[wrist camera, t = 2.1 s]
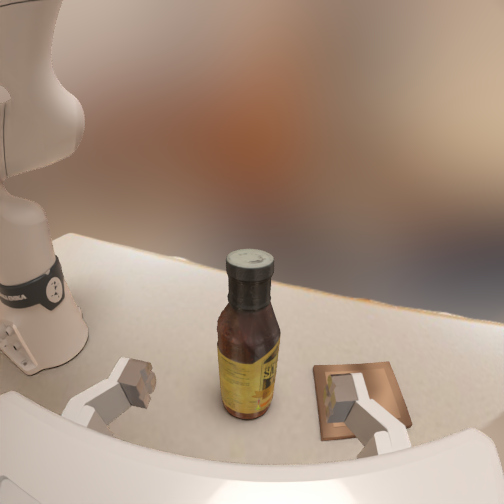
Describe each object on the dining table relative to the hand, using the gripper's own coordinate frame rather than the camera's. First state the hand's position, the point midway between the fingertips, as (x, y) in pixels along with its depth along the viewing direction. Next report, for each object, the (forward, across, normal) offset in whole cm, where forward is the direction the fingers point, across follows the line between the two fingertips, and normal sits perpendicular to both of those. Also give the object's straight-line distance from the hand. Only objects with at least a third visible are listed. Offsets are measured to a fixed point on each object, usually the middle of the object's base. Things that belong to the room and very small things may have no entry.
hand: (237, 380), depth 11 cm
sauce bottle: (+12, 0, +20) cm, 23 cm away
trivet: (+12, -14, +20) cm, 27 cm away
